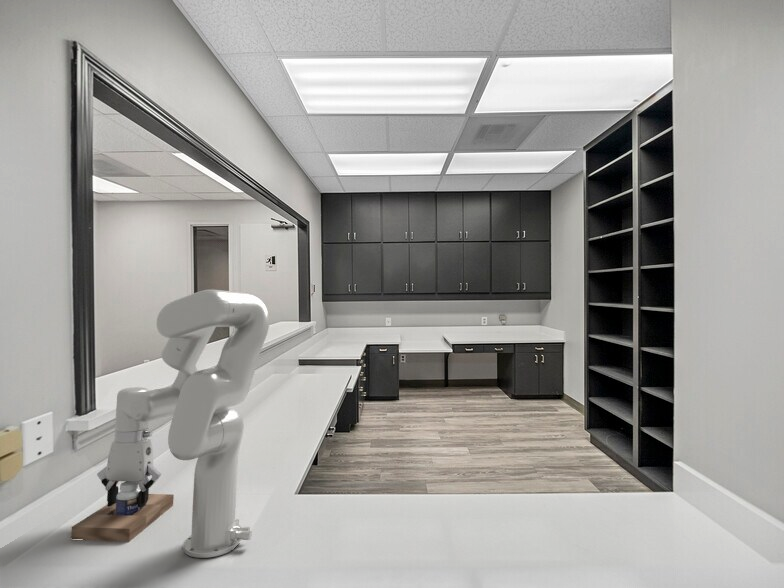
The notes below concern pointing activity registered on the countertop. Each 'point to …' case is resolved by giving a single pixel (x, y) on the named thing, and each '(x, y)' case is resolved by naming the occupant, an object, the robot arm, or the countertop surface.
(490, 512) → the countertop surface
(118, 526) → the socket block
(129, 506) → the pill bottle
